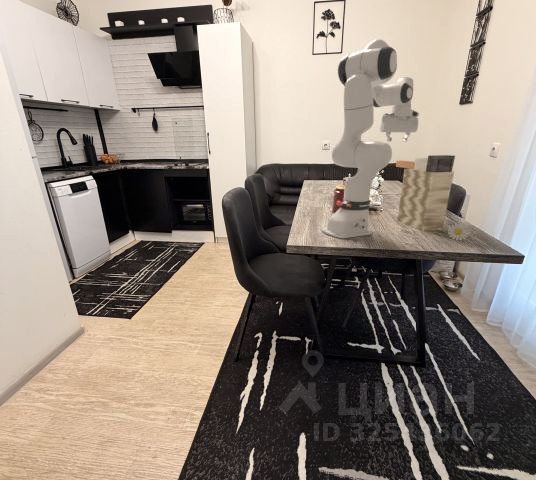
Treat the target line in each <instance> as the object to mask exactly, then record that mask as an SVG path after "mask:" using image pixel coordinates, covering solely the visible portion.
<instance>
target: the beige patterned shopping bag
mask: <svg viewBox="0 0 536 480" xmlns="http://www.w3.org/2000/svg"><path fill="white" fill-rule="evenodd" d="M427 158H428V161H427V166H426V171H422V170H415V169H411V168H404V170H403V178H402V185H401V191H400V198H399V204H398V212H397V217H396V221H397V222H399V223H402V224H405V225H407V226H410V227H412V228H414V229H417V230H419V231H422V232H429V231H431V232H432V231H436V230H439V231H443V230H444V229H443V228H444V223H445V218H446V215H447V214H446V213H447V208H448V203H449V200H450V193H451V190H452V189H451V188H452V183H453V180H454V174H455V171H453V168H454V163H455V158H456V155H451V154H441V155H440V154H439V155H437V154H436V155H428V156H427Z"/></svg>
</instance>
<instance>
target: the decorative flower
mask: <svg viewBox="0 0 536 480" xmlns="http://www.w3.org/2000/svg"><path fill="white" fill-rule="evenodd" d="M435 231H436V232H440V233H443V234H447V235H449V236H448V237H449V238H451V239H452V240H456V241H460V240H461V241H463V240H466V238H469V235H470V232H469V231H470V229H468V226H465V224H462V223H460V222H459V223H454V224H451V226H449V227H448V229H447V231H448V232H446V231H443V230H435Z"/></svg>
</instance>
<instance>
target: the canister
mask: <svg viewBox="0 0 536 480" xmlns="http://www.w3.org/2000/svg"><path fill="white" fill-rule="evenodd" d="M346 181H347V180H344V181H343V182H342V184H338V185H335V187H334V188H335V189H334V190H333V196H332V208H331V209H332V212H333V213H335V212H336V211H337V210H339V209H340V206H339V205H337V203H336V202H337V201H341V202H342V200H343V199H344V188H345V183H346Z"/></svg>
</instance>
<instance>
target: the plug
mask: <svg viewBox="0 0 536 480" xmlns="http://www.w3.org/2000/svg"><path fill="white" fill-rule="evenodd" d="M427 161H428V157H423V158H421V157H420V158H418V157H417V158H416V157H415V161H409V160H396V163H395V167H397V168H403V169H415V170H422V171H426V166H427Z"/></svg>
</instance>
